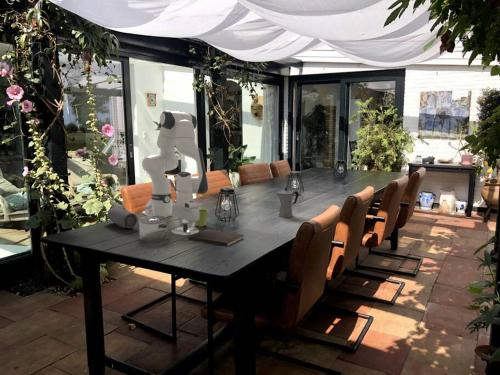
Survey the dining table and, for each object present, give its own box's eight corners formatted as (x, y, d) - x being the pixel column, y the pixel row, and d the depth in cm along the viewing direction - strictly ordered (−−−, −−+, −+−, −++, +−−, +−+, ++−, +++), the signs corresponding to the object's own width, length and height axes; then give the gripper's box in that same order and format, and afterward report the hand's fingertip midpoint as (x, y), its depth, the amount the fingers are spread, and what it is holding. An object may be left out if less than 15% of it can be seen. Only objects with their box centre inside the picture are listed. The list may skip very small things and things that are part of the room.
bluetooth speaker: (139, 228, 228) (138, 211, 226) (123, 231, 222) (122, 213, 220) (122, 221, 245) (121, 205, 243) (106, 223, 239) (105, 207, 237)
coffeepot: (278, 218, 253) (278, 189, 250) (273, 214, 262) (273, 187, 259) (301, 216, 257) (301, 188, 254) (295, 213, 266) (295, 186, 263)
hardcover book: (207, 233, 221) (207, 229, 220) (243, 239, 210) (243, 234, 209) (188, 240, 207) (188, 236, 207) (227, 247, 196) (227, 242, 196)
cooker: (130, 236, 212) (129, 217, 210) (154, 231, 222) (153, 213, 221) (153, 244, 198) (152, 224, 196) (177, 238, 208) (176, 219, 207)
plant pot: (193, 228, 229) (193, 213, 228) (191, 223, 238) (191, 209, 237) (210, 226, 232) (209, 212, 230) (207, 222, 241) (207, 208, 239)
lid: (166, 231, 223) (166, 223, 222) (189, 226, 232) (188, 218, 232) (181, 237, 212) (181, 228, 211) (204, 232, 222) (204, 223, 221)
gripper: (168, 200, 224) (169, 224, 227) (192, 205, 211) (192, 231, 213) (177, 199, 229) (178, 222, 231) (201, 204, 215) (201, 229, 217)
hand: (185, 227), depth 222 cm, fingers open, 5 cm apart
